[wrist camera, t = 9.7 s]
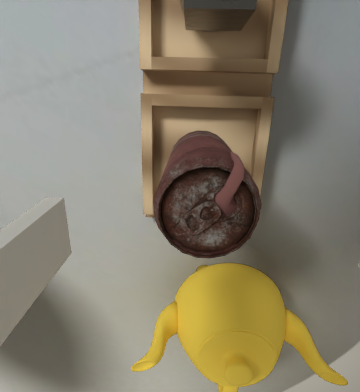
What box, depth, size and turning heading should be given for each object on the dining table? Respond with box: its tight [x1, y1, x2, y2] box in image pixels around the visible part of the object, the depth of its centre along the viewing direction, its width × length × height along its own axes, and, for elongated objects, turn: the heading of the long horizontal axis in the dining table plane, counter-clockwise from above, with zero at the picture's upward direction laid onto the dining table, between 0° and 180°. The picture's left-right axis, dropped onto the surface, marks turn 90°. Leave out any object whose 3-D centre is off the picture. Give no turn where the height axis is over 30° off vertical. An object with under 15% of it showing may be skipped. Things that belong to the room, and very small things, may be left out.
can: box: [154, 131, 261, 258], centre depth 21 cm, size 6×6×14 cm
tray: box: [139, 0, 288, 217], centre depth 25 cm, size 28×12×3 cm, turn 178°
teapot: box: [131, 263, 348, 392], centre depth 30 cm, size 20×15×12 cm
